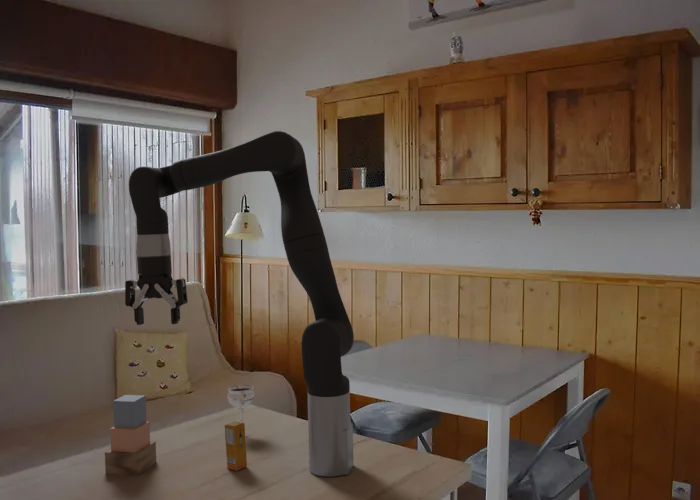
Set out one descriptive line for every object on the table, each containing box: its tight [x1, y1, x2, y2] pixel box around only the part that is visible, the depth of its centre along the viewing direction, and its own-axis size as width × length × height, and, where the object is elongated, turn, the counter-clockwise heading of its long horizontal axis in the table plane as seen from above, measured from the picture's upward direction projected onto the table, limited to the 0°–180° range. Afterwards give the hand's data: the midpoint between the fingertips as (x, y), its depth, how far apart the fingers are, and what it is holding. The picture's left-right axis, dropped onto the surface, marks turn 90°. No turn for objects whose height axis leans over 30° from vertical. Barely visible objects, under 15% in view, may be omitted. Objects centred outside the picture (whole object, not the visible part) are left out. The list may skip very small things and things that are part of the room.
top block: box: [109, 421, 151, 453], centre depth 147 cm, size 6×6×5 cm
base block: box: [104, 440, 157, 476], centre depth 147 cm, size 8×8×5 cm
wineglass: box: [227, 384, 255, 438], centre depth 169 cm, size 7×7×12 cm
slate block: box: [112, 394, 148, 429], centre depth 147 cm, size 5×5×6 cm
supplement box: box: [224, 421, 248, 472], centre depth 146 cm, size 3×4×10 cm
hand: (157, 324), depth 152 cm, fingers open, 8 cm apart
